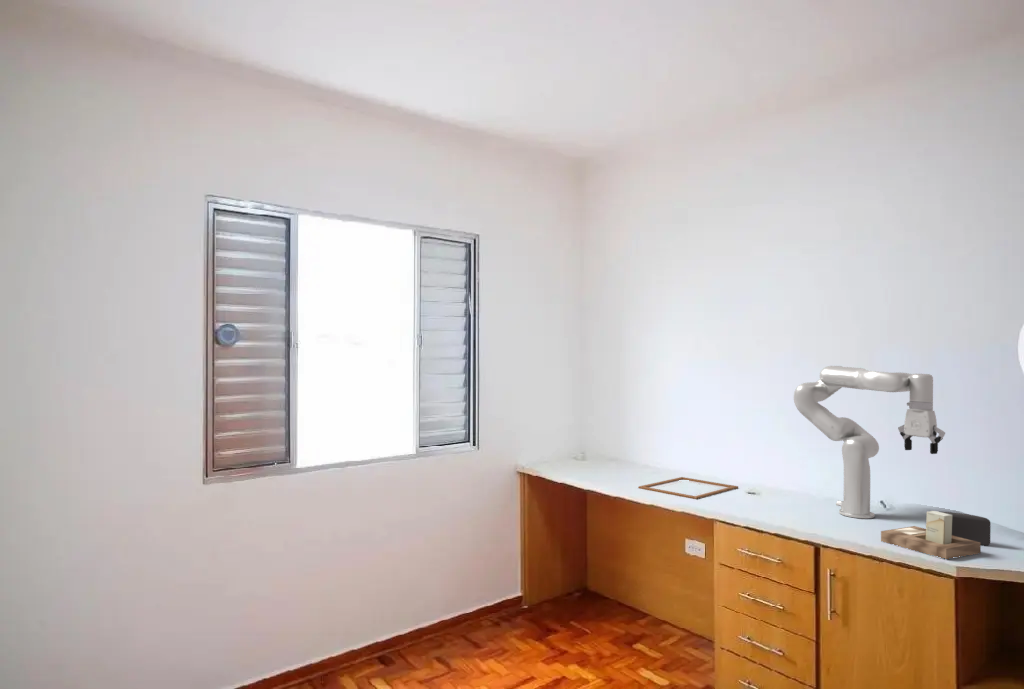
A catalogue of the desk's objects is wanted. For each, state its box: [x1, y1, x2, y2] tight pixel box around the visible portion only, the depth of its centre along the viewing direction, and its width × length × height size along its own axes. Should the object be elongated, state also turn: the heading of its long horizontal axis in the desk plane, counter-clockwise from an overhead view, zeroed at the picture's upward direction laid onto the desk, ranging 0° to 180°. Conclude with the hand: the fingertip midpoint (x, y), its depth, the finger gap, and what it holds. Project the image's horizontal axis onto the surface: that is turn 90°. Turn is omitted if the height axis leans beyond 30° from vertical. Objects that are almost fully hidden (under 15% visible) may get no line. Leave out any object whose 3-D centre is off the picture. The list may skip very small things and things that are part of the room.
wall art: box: [637, 476, 739, 500], centre depth 312 cm, size 31×2×38 cm
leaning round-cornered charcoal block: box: [941, 511, 992, 547], centre depth 228 cm, size 16×5×9 cm, turn 54°
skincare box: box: [925, 510, 952, 545], centre depth 217 cm, size 6×4×12 cm
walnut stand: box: [880, 525, 982, 560], centre depth 220 cm, size 22×18×4 cm
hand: (920, 451), depth 247 cm, fingers open, 9 cm apart
